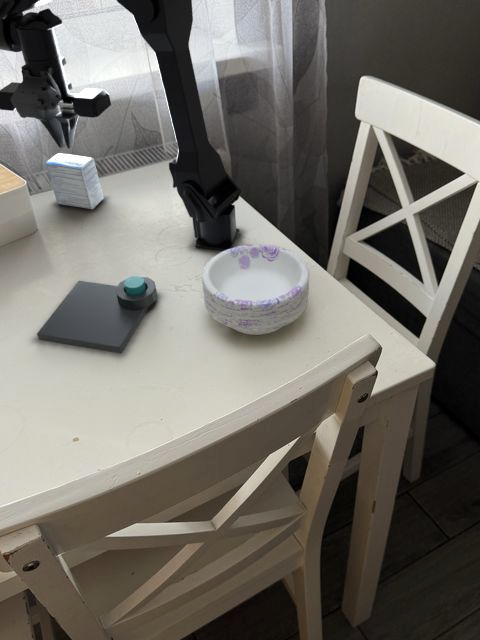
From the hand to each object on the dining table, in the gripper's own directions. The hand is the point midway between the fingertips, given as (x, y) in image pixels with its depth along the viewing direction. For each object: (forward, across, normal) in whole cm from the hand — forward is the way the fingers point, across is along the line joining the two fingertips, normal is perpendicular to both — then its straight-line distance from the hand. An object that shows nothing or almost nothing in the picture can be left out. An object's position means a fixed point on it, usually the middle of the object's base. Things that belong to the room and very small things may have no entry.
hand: (66, 147), depth 107 cm
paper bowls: (+11, +42, -25) cm, 50 cm away
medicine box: (+11, 0, 0) cm, 11 cm away
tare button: (+8, +23, -26) cm, 36 cm away
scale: (+11, +19, -31) cm, 38 cm away
